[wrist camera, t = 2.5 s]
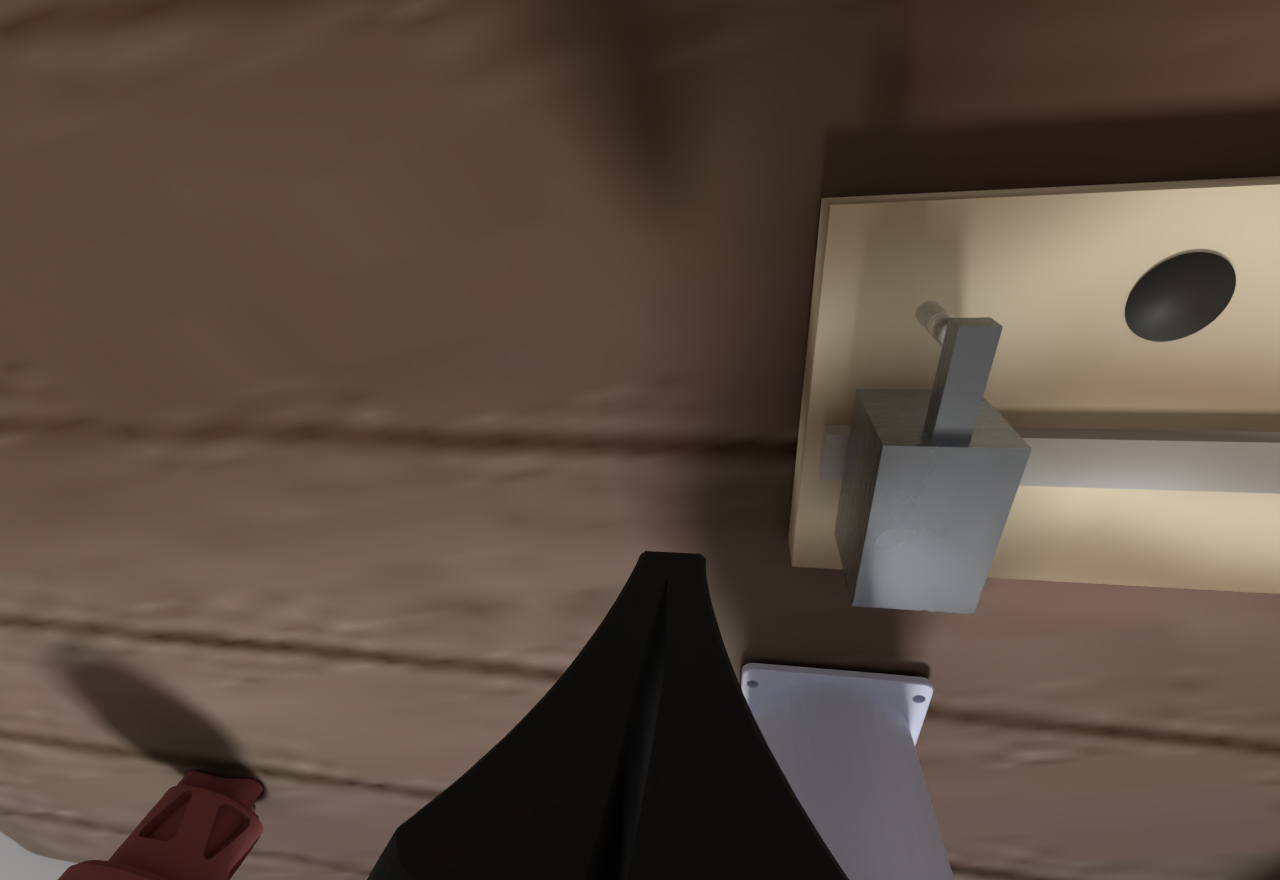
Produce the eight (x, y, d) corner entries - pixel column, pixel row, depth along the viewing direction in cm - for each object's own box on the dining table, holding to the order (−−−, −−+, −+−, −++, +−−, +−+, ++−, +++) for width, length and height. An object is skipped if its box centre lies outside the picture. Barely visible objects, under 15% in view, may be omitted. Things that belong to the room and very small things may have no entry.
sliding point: (930, 527, 17) (973, 614, 14) (831, 523, 17) (852, 606, 14) (995, 284, 13) (1073, 330, 10) (866, 286, 14) (904, 332, 11)
